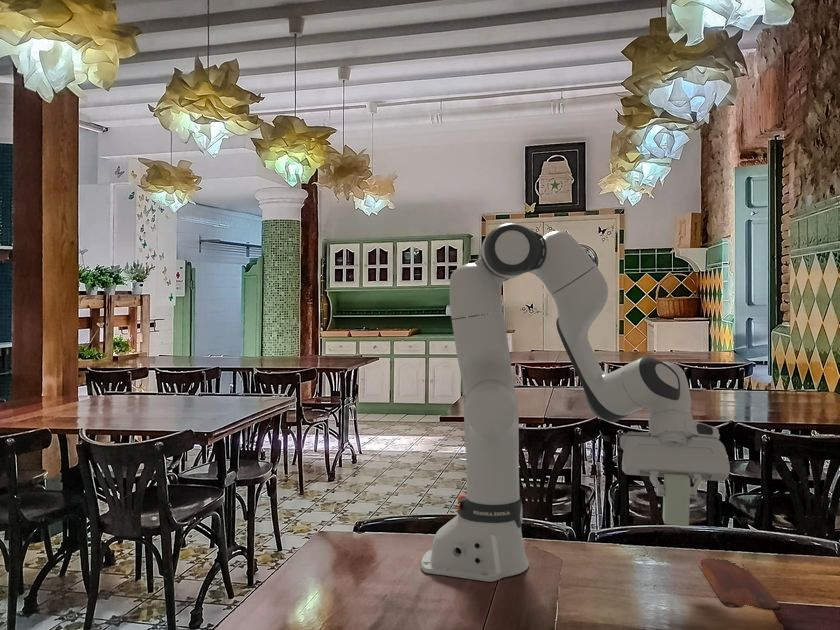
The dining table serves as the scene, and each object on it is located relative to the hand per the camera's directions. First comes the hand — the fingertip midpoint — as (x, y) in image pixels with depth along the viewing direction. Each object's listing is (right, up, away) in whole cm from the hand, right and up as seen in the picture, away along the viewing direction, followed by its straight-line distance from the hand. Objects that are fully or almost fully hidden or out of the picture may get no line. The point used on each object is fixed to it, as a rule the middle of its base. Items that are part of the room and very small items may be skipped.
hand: (676, 496), depth 134 cm
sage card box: (0, -5, +1) cm, 5 cm away
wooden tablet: (+11, -18, +1) cm, 21 cm away
